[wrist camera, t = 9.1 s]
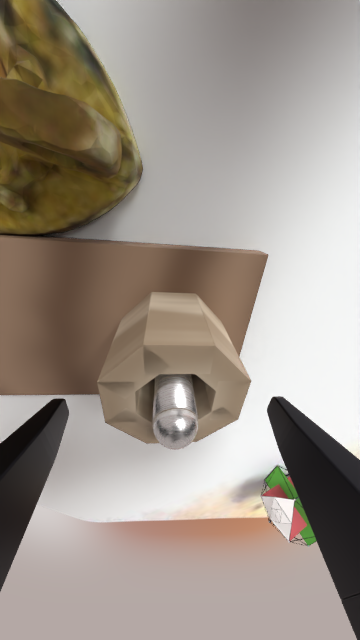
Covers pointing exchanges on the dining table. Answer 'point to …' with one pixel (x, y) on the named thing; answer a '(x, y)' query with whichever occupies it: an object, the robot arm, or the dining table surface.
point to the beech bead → (171, 365)
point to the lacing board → (102, 302)
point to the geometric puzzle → (286, 507)
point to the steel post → (174, 410)
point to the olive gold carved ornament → (57, 125)
